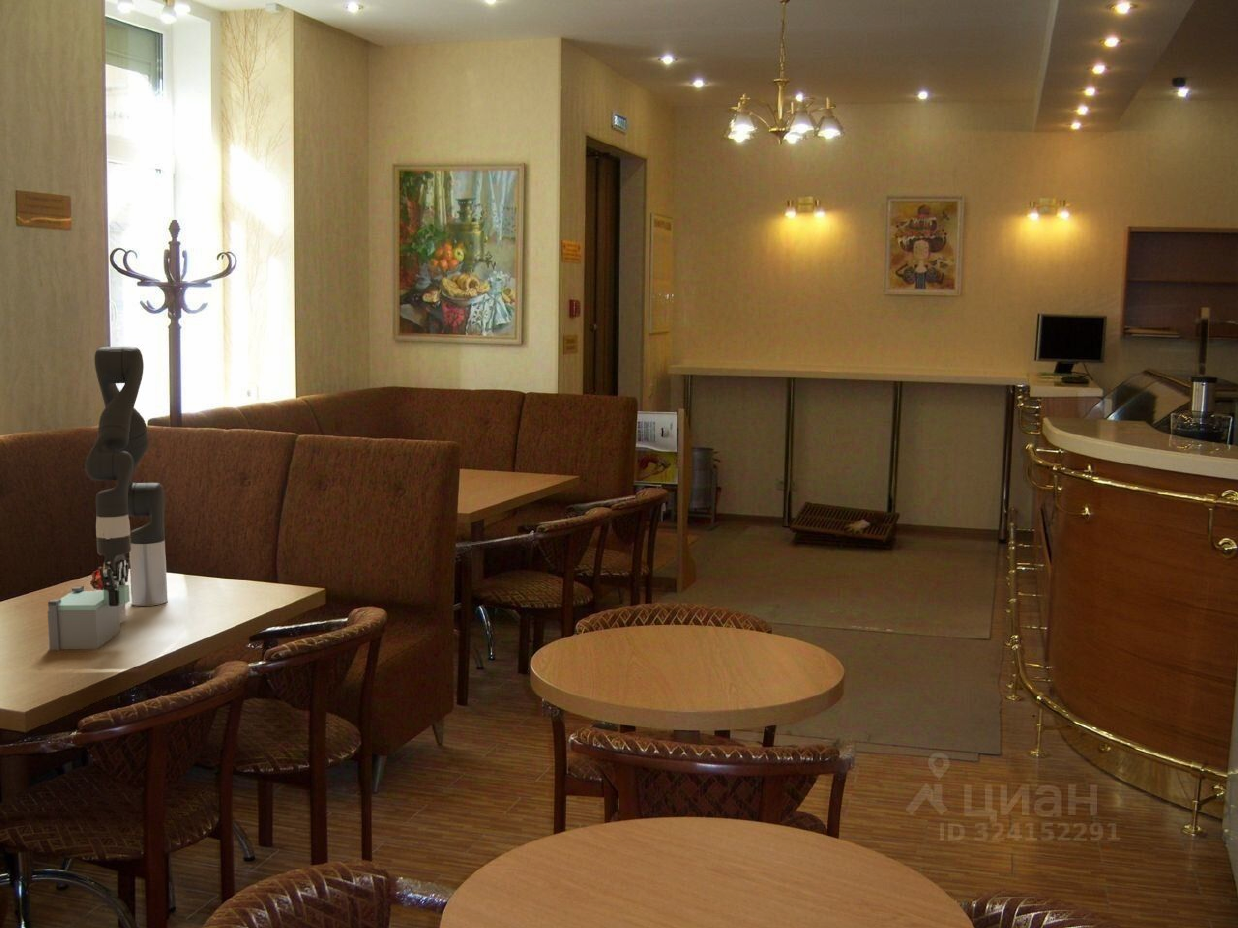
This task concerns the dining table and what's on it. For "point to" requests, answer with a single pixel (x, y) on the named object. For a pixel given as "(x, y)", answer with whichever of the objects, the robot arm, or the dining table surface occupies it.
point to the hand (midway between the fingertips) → (116, 603)
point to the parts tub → (81, 625)
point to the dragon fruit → (97, 580)
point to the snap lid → (91, 599)
